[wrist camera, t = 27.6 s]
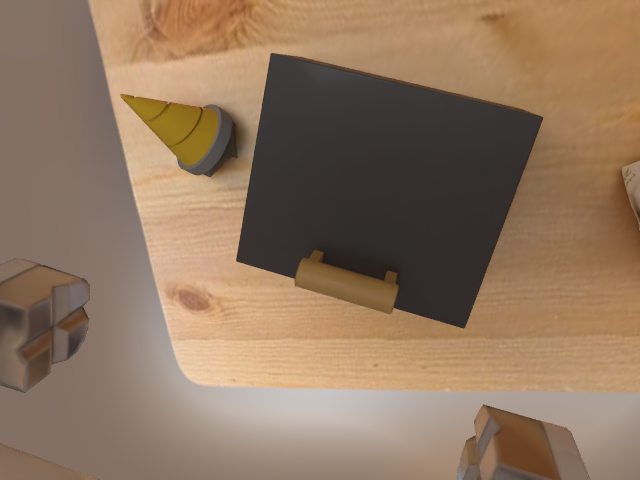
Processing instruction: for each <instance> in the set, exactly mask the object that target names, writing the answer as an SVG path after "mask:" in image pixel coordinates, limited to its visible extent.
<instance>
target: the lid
mask: <svg viewBox="0 0 640 480" xmlns="http://www.w3.org/2000/svg"><path fill="white" fill-rule="evenodd" d="M542 120H543V117H541V116H538V115H533V114H529V113H525V112H521V111H516V110H512V109H508V108H504V107H500V106H495V105H491V104H487V103H483V102H478V101H474V100H470V99H466V98H461V97H457V96H453V95H449V94H444V93H440V92H436V91H432V90H428V89H423V88H419V87H415V86H411V85H406V84H402V83H398V82H394V81H389V80H385V79H381V78H377V77H372V76H368V75H364V74H360V73H356V72H351V71H347V70H343V69H339V68H334V67H330V66H326V65H322V64H317V63H313V62H309V61H305V60H300V59H296V58H292V57H288V56H283V55H279V54H275V53H271V56H270V62H269V68H268V74H267V80H266V86H265V92H264V98H263V104H262V110H261V116H260V122H259V128H258V134H257V139H256V145H255V151H254V157H253V163H252V169H251V175H250V181H249V187H248V193H247V199H246V205H245V211H244V217H243V223H242V229H241V235H240V241H239V247H238V253H237V259H236V261H237V262H240V263H244V264H247V265H250V266H254V267H257V268H261V269H264V270H267V271H271V272H274V273H278V274H281V275H284V276H288V277H291V278H294V279H295V286H297V287H300V288H304V289H307V290H311V291H314V292H317V293H321V294H324V295H327V296H331V297H334V298H337V299H341V300H344V301H348V302H351V303H354V304H358V305H361V306H364V307H368V308H371V309H375V310H378V311H381V312H385V313H388V314H391V313H392V310H393V308H396V309H399V310H403V311H406V312H410V313H413V314H416V315H420V316H423V317H427V318H430V319H433V320H437V321H440V322H444V323H447V324H450V325H454V326H457V327H460V328H465V326H466V324H467V321H468V318H469V316H470V313H471V310H472V308H473V305H474V302H475V300H476V297H477V294H478V292H479V289H480V286H481V284H482V281H483V278H484V276H485V273H486V270H487V267H488V265H489V262H490V259H491V257H492V254H493V251H494V249H495V246H496V243H497V241H498V238H499V235H500V233H501V230H502V227H503V225H504V222H505V219H506V217H507V214H508V211H509V209H510V206H511V203H512V200H513V198H514V195H515V192H516V190H517V187H518V184H519V182H520V179H521V176H522V174H523V171H524V168H525V166H526V163H527V160H528V158H529V155H530V152H531V150H532V147H533V144H534V142H535V139H536V136H537V133H538V131H539V128H540V125H541V123H542Z"/></svg>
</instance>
